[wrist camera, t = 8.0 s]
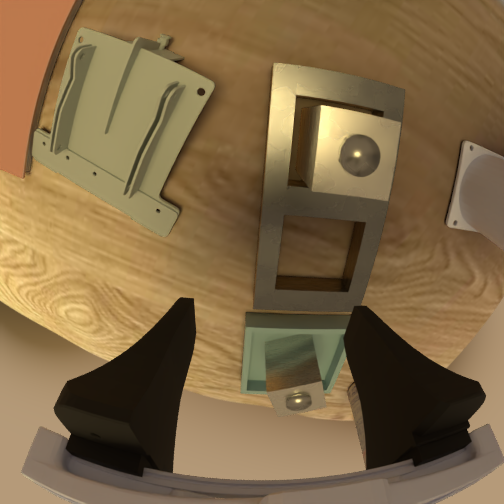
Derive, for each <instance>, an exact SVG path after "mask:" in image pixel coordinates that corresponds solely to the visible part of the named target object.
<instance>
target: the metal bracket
mask: <svg viewBox="0 0 504 504" xmlns="http://www.w3.org/2000/svg"><path fill="white" fill-rule="evenodd" d="M160 36H161V37H160V38H158V40H157V42H155V41H152V40H148V39H145V38H141V37H137V38H136V39H135V40H134V41H127V42H126V41H124V40H121V39H118V38H115V37H113V36H110V35H107V34H104V33H101V32H98V31H95V30H92V29H88V28H80V29H79V31H78V33H77V36H76V38H75V41H74V44H73V47H72V50H71V53H70V56H69V59H68V62H67V65H66V68H65V72H64V75H63V79H62V83H61V87H60V90H59V95H58V99H57V103H56V108H55V113H54V118H53V123H52V129H51V133H50V134H49V133H47V132H45V131H44V130H42V129H40V128H38V129H36V131H35V132H34V138H33V148H32V156H33V157H34V158H35V160H36V161H38V162H39V163H41V164H43V165H44V166H46V167H47V168H49V169H50V170H52V171H54V172H55V173H57V172H58V173H59V174H61V175H63V176H64V177H66V178H67V179H69V180H71V181H72V182H74V183H75V184H77V185H79V186H80V187H82V188H84V189H85V190H87V191H88V192H90V193H92V194H93V195H95V196H97V197H98V198H100V199H102V200H103V201H105V202H107V203H108V204H110V205H112V206H113V207H115V208H117V209H118V210H120V211H122V212H123V213H125V214H127V215H128V216H130V217H131V219H132V220H134V221H135V222H137V223H139V224H140V225H142V226H144V227H146V228H147V229H149V230H151V231H152V232H154V233H156V234H158V235H159V236H163V237H167V236H168V234H169V233H170V231H171V229H172V227H173V225H174V223H175V221H176V219H177V217H178V215H179V213H180V210H179V209H178V208H177V207H175V206H174V205H172V204H170V203H169V202H167V201H165V200H163V199H162V198H161V197H160V192H161V190H162V188H163V185H164V183H165V181H166V179H167V177H168V175H169V173H170V171H171V168H172V166H173V164H174V162H175V160H176V158H177V156H178V154H179V152H180V150H181V148H182V146H183V144H184V142H185V140H186V139H187V137H188V135H189V133H190V131H191V129H192V127H193V125H194V124H195V122H196V120H197V118H198V116H199V115H200V113H201V111H202V109H203V107H204V106H205V104H206V102H207V100H208V99H209V97H210V95H211V94H212V92H213V90H214V89H215V83H214V82H213V81H212V80H210V79H208V78H206V77H204V76H202V75H200V74H198V73H197V72H195V71H193V70H190V69H188V68H186V67H184V66H182V65H180V64H178V63H176V62H174V61H177V60H183V59H184V57H183V56H180V55H178V54H174V52H172V51H169V50H167V49H165V46H167V45H168V43H169V39H171V38H172V37H170V36H168V35H165V34H160ZM81 37H83V38H84V40H83V42H82V43H81V42H80V38H81ZM199 88H203V89H204V90H205V94H204V95H203V96H200V95H199V94H198V89H199ZM44 142H45V144H44ZM67 156H69V158H68V157H67ZM94 172H96V174H94ZM157 209H159V210H160V212H159V211H157Z"/></svg>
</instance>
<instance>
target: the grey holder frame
mask: <svg viewBox="0 0 504 504" xmlns="http://www.w3.org/2000/svg"><path fill="white" fill-rule="evenodd" d="M296 97H297V98H305V99H312V100H319V101H325V102H331V103H336V104H342V105H347V106H352V107H357V108H361V109H366V110H370V111H373V112H372V115H374V116H378V117H382V118H386V119H390V120H393V121H397V122H401V127H400V135H399V142H398V149H397V156H396V162H395V168H394V173H393V179H392V184H391V189H390V194H389V199H388V201H384V200H377V199H370V198H363V197H356V196H348V195H340V194H331V193H323V192H313V191H311V190H310V188H309V187H308V186H307V184H306V183H305V182H304V181H298V180H288V174H289V164H290V154H291V144H292V134H293V123H294V112H295V100H296ZM404 99H405V89H402V88H398V87H395V86H392V85H389V84H385V83H382V82H378V81H374V80H370V79H367V78H363V77H358V76H354V75H350V74H345V73H340V72H335V71H330V70H325V69H319V68H313V67H306V66H299V65H292V64H283V63H273V66H272V71H271V84H270V97H269V109H268V122H267V135H266V147H265V160H264V172H263V184H262V196H261V208H260V220H259V232H258V244H257V256H256V268H255V279H254V291H253V309H263V310H287V311H324V312H352V311H353V308H354V306H361V303H362V300H363V297H364V294H365V291H366V288H367V284H368V281H369V278H370V274H371V271H372V268H373V264H374V261H375V257H376V254H377V250H378V246H379V242H380V238H381V235H382V231H383V226H384V222H385V218H386V214H387V209H388V205H389V200H390V195H391V190H392V185H393V180H394V174H395V169H396V163H397V157H398V150H399V143H400V136H401V128H402V120H403V110H404ZM284 215H294V216H306V217H317V218H328V219H339V220H349V221H355V226H354V231H353V235H352V240H351V244H350V249H349V253H348V257H347V261H346V265H345V269H344V273H343V277H342V279H330V278H308V277H288V276H277V268H278V260H279V252H280V244H281V236H282V228H283V219H284Z"/></svg>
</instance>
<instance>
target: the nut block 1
mask: <svg viewBox="0 0 504 504" xmlns="http://www.w3.org/2000/svg"><path fill="white" fill-rule="evenodd" d="M264 343H265V367H266V392H267V394H268V397H269V399H270V401H271V403H272V405H273V407H274V409H275V411H276V413H277V416H278V417H281V416H287V415H292V414H298V413H303V412H308V411H312V410H317V409H321V408H326V401H325V396H324V390H323V385H322V380H321V375H320V370H319V366H318V361H317V356H316V352H315V347H314V343H313V339H312V334H298V335H294V336H289V337H285V338H280V339H276V340H271V341H266V342H264Z"/></svg>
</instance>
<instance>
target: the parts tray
mask: <svg viewBox="0 0 504 504" xmlns="http://www.w3.org/2000/svg"><path fill="white" fill-rule="evenodd" d="M350 317H351V315H299V314H271V313H251V312H246V319H245V333H244V347H243V360H242V374H241V393H244V394H267V392H266V367H265V343H264V342H266V341H271V340H276V339H280V338H285V337H289V336H294V335H298V334H312V339H313V343H314V347H315V352H316V356H317V361H318V366H319V370H320V375H321V380H322V385H323V390H324V393H330V392H331V390H332V388H333V386H334V384H335V382H336V379H337V377H338V375H339V373H340V370H341V368H342V366H343V363H344V361H345V359H346V352H345V347H344V341H343V337H344V334H345V331H346V329H347V326H348V323H349V320H350Z"/></svg>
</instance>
